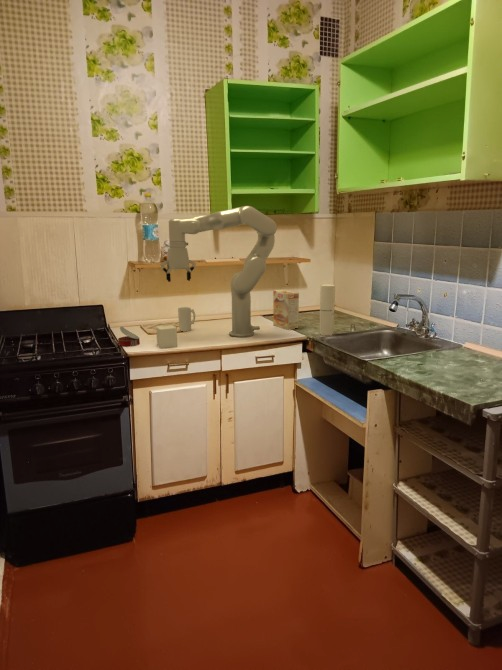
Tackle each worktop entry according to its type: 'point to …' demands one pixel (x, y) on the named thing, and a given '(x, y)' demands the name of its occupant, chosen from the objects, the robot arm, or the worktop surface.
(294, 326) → the coffeecake box
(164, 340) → the grey piece
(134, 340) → the canned food
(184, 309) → the mug
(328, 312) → the cylindrical container
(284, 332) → the worktop surface
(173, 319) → the worktop surface
